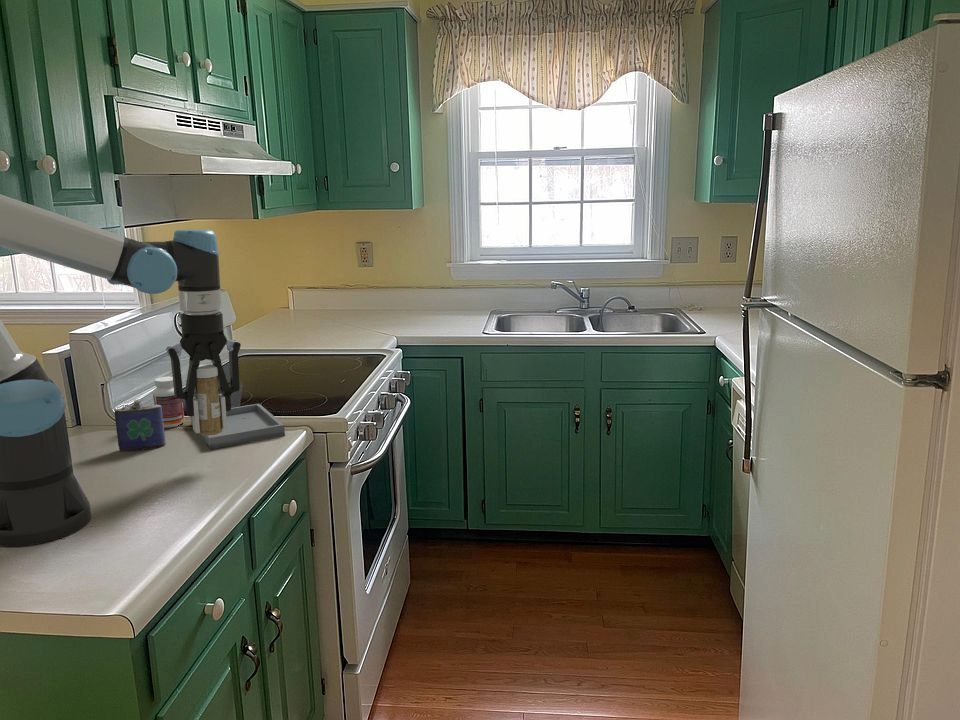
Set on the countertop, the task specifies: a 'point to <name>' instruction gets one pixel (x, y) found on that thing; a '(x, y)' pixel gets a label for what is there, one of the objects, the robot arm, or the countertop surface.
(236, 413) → the tray
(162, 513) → the countertop surface
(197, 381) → the sprinkles bottle
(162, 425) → the flask
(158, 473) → the countertop surface
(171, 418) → the pill bottle
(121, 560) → the countertop surface
